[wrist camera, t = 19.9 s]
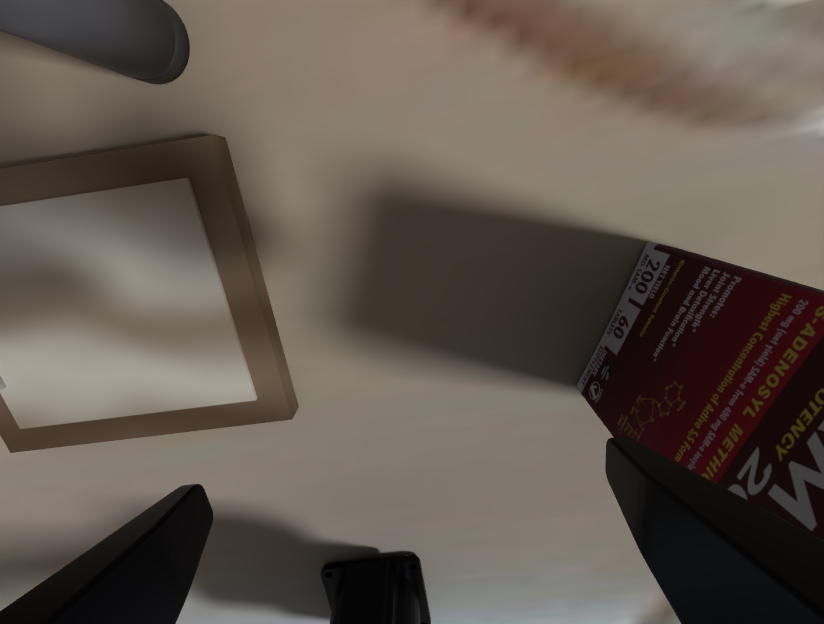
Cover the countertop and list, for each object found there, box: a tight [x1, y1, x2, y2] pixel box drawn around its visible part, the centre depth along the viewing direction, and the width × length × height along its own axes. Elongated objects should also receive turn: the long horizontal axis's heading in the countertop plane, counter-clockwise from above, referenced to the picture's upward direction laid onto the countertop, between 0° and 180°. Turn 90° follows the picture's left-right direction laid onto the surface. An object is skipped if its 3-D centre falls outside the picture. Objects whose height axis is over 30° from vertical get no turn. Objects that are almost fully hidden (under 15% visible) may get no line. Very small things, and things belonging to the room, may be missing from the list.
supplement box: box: [577, 242, 824, 540], centre depth 13 cm, size 9×5×16 cm, turn 164°
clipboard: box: [0, 135, 298, 453], centre depth 19 cm, size 14×16×2 cm
